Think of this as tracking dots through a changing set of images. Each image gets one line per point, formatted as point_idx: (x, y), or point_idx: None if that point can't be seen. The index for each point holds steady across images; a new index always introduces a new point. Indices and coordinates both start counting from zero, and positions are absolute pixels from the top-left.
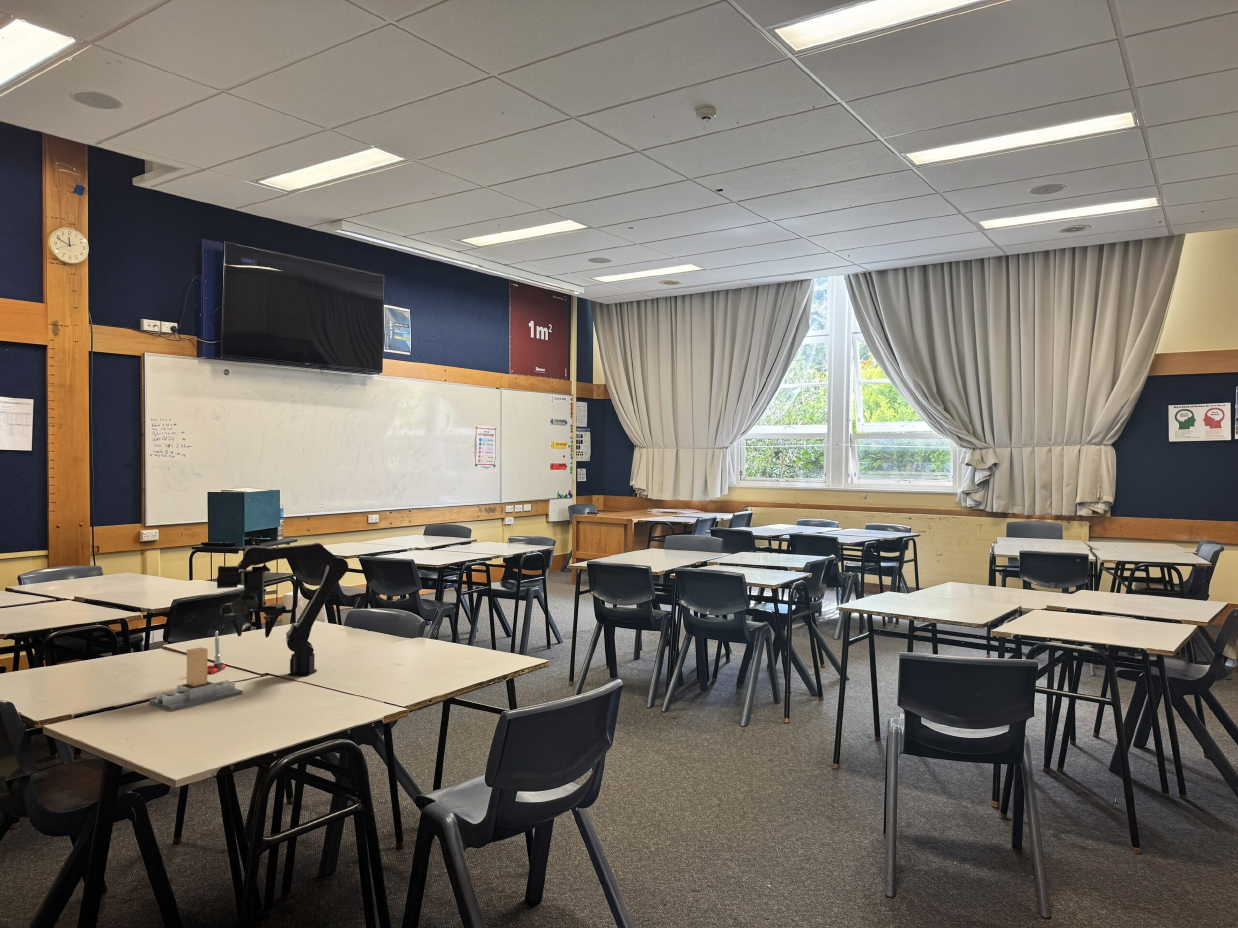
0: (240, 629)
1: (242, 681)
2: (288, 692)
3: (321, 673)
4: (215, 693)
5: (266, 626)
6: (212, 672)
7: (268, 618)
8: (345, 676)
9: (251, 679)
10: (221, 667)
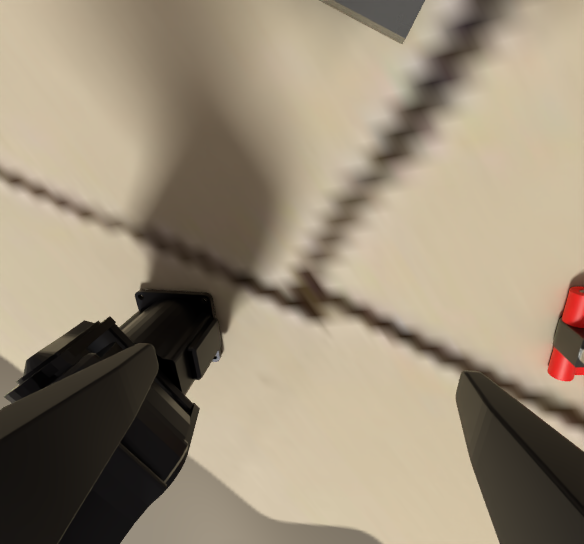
0: (490, 460)
1: (343, 179)
2: (16, 39)
3: None
4: None
5: (8, 422)
6: (579, 289)
7: None
8: (27, 301)
9: (321, 219)
10: (558, 346)
